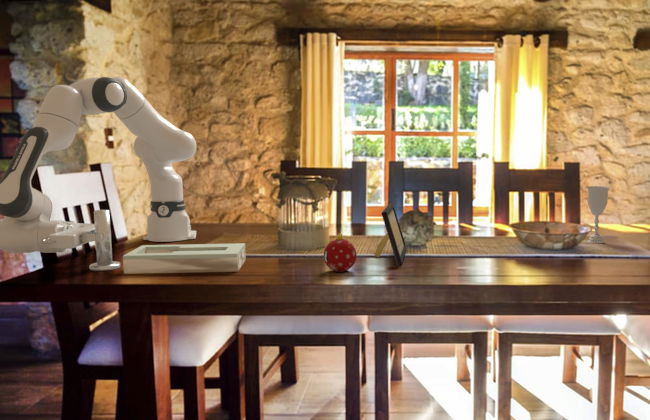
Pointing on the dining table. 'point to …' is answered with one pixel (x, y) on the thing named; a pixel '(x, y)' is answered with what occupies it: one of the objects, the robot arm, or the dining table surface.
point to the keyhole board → (185, 258)
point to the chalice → (597, 208)
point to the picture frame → (392, 235)
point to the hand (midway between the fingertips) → (106, 235)
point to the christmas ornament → (340, 254)
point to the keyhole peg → (103, 243)
